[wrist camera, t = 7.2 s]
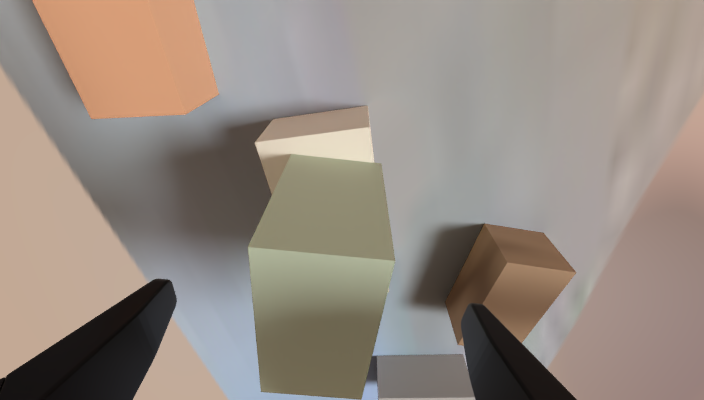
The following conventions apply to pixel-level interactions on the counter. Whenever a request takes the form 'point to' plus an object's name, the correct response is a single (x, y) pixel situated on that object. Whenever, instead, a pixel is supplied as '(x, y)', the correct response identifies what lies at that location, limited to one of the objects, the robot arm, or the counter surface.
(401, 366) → the grey brick
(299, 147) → the cream brick
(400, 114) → the counter surface
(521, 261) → the walnut brick
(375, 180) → the sage brick
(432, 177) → the counter surface
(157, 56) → the terracotta brick
